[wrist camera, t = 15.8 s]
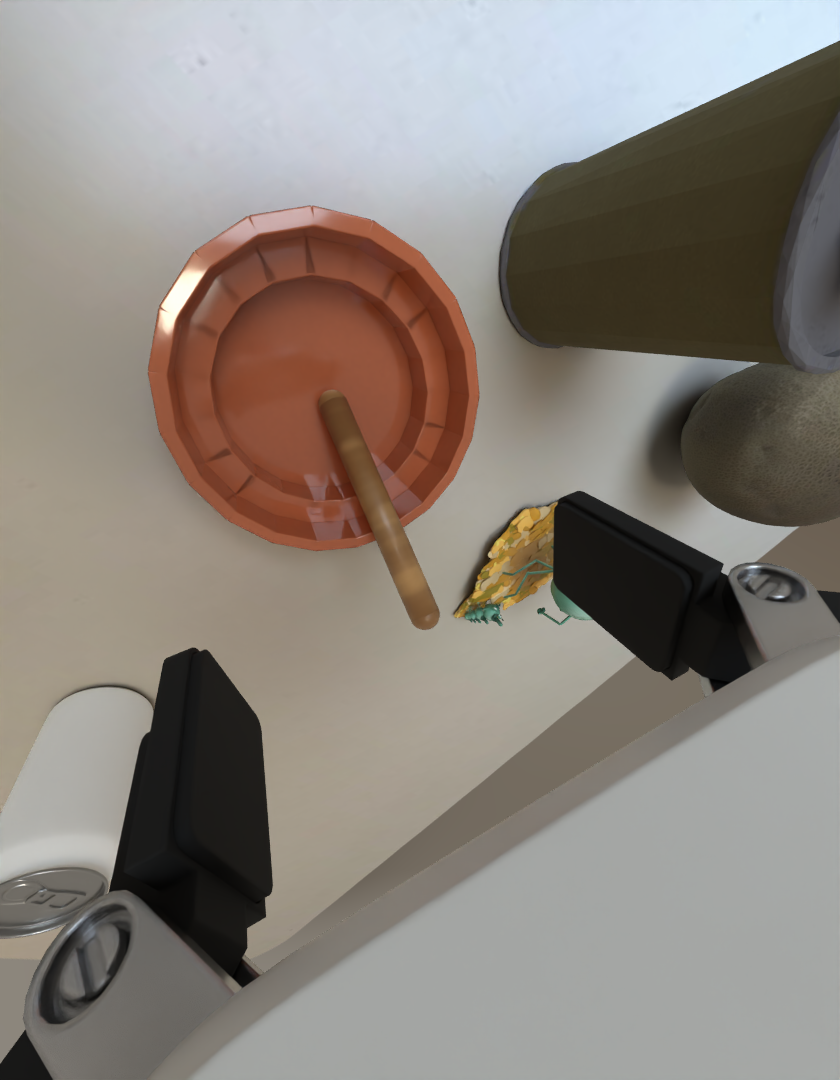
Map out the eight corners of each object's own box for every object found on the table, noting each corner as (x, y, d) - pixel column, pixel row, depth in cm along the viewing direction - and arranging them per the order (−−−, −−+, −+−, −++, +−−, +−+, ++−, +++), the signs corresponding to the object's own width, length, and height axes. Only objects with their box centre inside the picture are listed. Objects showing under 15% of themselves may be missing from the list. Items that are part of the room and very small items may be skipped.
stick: (318, 384, 23) (426, 634, 22) (345, 382, 24) (449, 620, 23) (310, 401, 24) (411, 635, 24) (336, 398, 25) (434, 623, 25)
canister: (539, 378, 31) (873, 445, 15) (470, 246, 24) (917, 111, 8) (643, 275, 30) (1114, 226, 14) (598, 113, 24) (1356, -315, 8)
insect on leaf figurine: (422, 570, 35) (537, 681, 23) (567, 459, 38) (733, 507, 26) (459, 631, 41) (567, 746, 29) (583, 530, 44) (727, 596, 32)
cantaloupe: (757, 321, 37) (1013, 323, 25) (733, 455, 45) (916, 506, 33) (638, 380, 34) (853, 414, 22) (634, 509, 43) (792, 586, 30)
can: (105, 668, 28) (35, 852, 19) (174, 709, 32) (146, 878, 22) (23, 721, 28) (-92, 937, 18) (103, 755, 31) (43, 949, 22)
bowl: (101, 264, 19) (53, 246, 14) (412, 210, 22) (460, 180, 18) (245, 541, 28) (247, 589, 23) (450, 470, 31) (489, 498, 27)
